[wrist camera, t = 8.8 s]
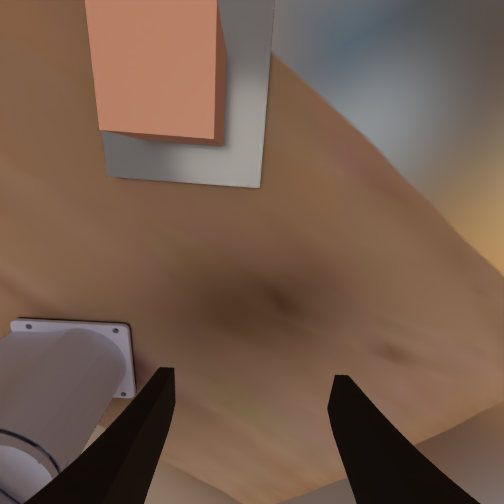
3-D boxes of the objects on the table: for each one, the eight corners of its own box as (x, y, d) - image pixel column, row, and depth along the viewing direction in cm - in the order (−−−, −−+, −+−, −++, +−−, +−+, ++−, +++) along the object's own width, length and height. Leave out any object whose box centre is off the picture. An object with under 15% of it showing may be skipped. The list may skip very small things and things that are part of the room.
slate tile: (116, 175, 18) (107, 176, 16) (98, -8, 14) (85, -23, 13) (258, 186, 18) (259, 187, 17) (272, 11, 15) (275, -2, 14)
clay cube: (143, 140, 16) (99, 129, 11) (137, 43, 14) (82, -18, 9) (223, 146, 16) (213, 138, 11) (226, 51, 14) (216, -4, 10)
